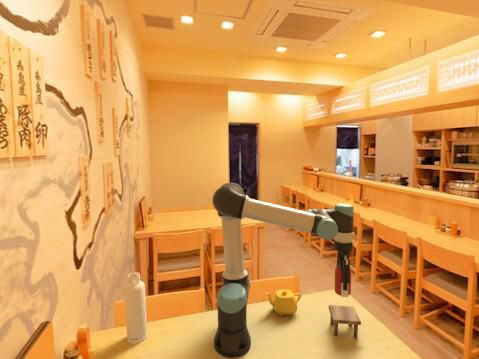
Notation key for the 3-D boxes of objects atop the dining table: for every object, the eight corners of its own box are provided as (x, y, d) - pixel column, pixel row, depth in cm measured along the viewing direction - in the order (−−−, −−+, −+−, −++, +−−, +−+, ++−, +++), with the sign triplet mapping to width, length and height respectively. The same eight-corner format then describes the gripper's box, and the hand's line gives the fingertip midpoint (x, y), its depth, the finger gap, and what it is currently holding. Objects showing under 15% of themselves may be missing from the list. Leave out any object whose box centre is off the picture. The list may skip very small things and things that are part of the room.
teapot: (267, 319, 130) (267, 297, 129) (263, 305, 141) (263, 285, 140) (304, 316, 131) (305, 295, 130) (297, 303, 142) (298, 284, 141)
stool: (332, 337, 117) (333, 319, 116) (328, 321, 128) (328, 304, 127) (360, 339, 115) (360, 321, 115) (353, 323, 126) (353, 306, 125)
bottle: (142, 328, 124) (139, 268, 121) (150, 337, 118) (147, 274, 115) (124, 337, 118) (120, 274, 115) (132, 346, 112) (128, 281, 109)
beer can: (352, 297, 116) (352, 270, 114) (335, 296, 117) (336, 269, 116) (349, 289, 122) (349, 263, 121) (333, 288, 123) (334, 262, 122)
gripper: (359, 249, 107) (358, 305, 109) (347, 233, 126) (346, 281, 128) (339, 248, 108) (338, 304, 110) (330, 233, 127) (329, 280, 130)
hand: (342, 291), depth 119 cm, fingers closed on beer can, 7 cm apart
